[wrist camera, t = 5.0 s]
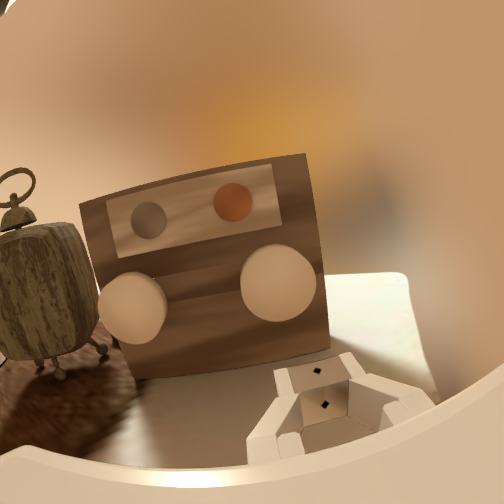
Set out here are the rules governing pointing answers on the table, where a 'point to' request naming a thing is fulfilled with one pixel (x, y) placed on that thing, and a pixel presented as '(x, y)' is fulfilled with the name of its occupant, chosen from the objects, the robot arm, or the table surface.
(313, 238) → the button panel
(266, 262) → the button
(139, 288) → the button
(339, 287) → the table surface
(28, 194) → the tabletop clock
